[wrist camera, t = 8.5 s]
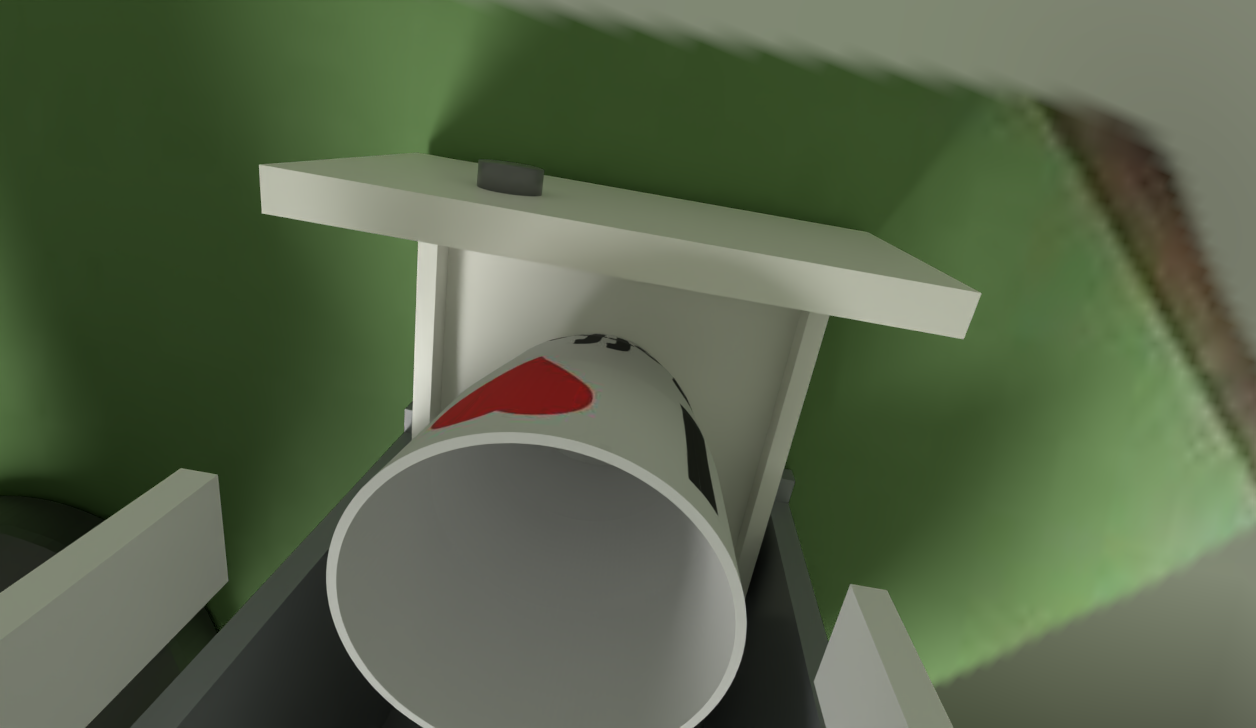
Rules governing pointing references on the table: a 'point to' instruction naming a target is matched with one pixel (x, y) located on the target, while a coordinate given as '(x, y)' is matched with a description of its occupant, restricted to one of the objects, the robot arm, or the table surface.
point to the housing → (368, 724)
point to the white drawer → (625, 291)
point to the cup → (546, 553)
